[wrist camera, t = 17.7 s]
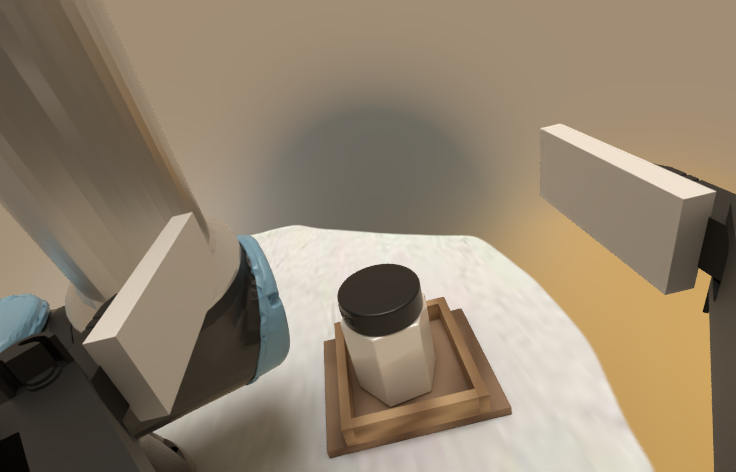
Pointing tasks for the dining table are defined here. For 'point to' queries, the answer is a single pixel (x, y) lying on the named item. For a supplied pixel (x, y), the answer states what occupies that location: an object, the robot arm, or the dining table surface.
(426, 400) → the wooden tray
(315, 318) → the dining table surface
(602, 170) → the robot arm
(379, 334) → the jar
